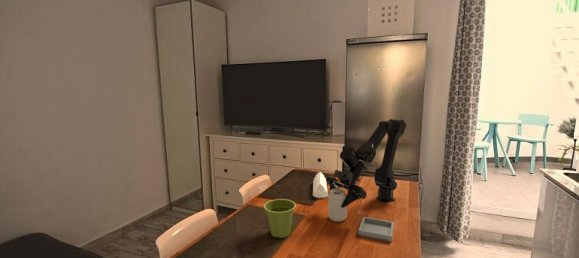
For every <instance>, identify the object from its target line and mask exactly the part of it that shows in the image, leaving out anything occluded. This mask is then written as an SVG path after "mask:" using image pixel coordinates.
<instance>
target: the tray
mask: <svg viewBox="0 0 579 258" xmlns="http://www.w3.org/2000/svg"><path fill="white" fill-rule="evenodd" d="M358 227H359V228H358V232H357V236H359V237H363V238H368V239H373V240H378V241H383V242H387V243H393V242H392V241H393V236H394V235H393V234H394V228H395V222H394V221H390V220H385V219H381V218H379V219H378V218H375V217H367V216H363V217H362V220H361V223H360V224H359V226H358Z"/></svg>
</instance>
